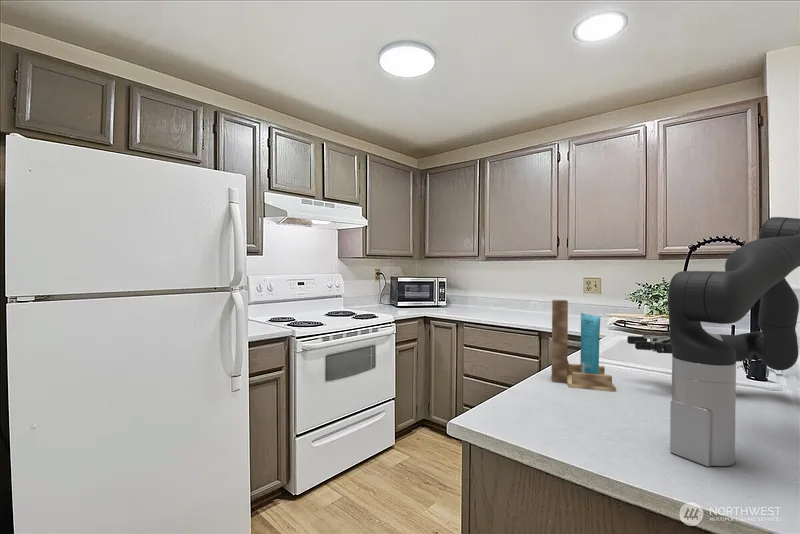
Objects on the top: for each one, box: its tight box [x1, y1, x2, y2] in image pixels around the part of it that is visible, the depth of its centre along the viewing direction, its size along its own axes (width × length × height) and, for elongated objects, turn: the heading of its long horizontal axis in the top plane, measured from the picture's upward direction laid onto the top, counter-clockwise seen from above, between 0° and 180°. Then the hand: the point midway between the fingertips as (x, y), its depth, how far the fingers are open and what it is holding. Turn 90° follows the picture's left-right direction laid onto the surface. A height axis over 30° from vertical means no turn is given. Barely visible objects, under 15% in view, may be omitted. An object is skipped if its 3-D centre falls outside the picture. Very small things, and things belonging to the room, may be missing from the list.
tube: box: [579, 312, 601, 374], centre depth 116 cm, size 7×5×19 cm, turn 23°
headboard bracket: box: [551, 299, 617, 392], centre depth 117 cm, size 16×12×24 cm
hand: (631, 342), depth 113 cm, fingers open, 8 cm apart
